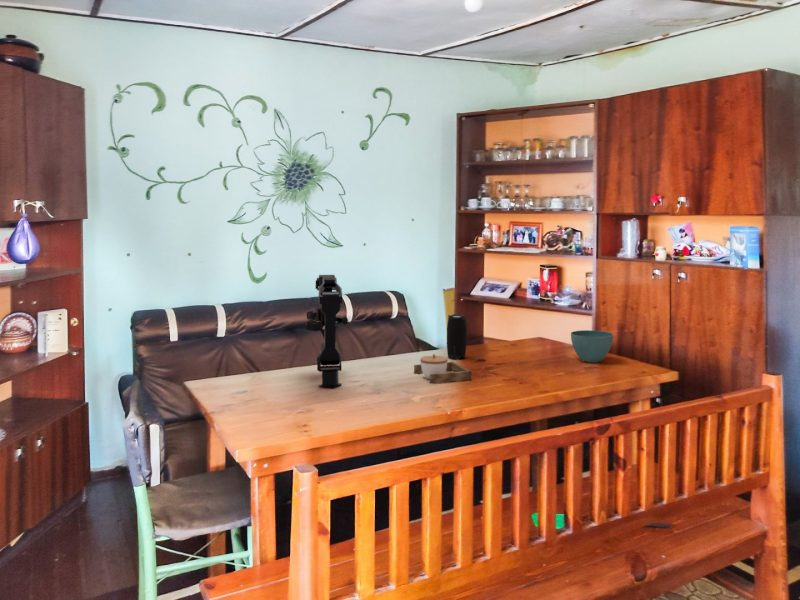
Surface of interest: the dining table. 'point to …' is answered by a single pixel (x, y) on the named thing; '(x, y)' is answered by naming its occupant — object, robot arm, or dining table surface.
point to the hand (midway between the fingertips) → (327, 343)
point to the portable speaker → (456, 336)
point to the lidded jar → (433, 365)
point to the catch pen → (456, 375)
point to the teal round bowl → (591, 344)
